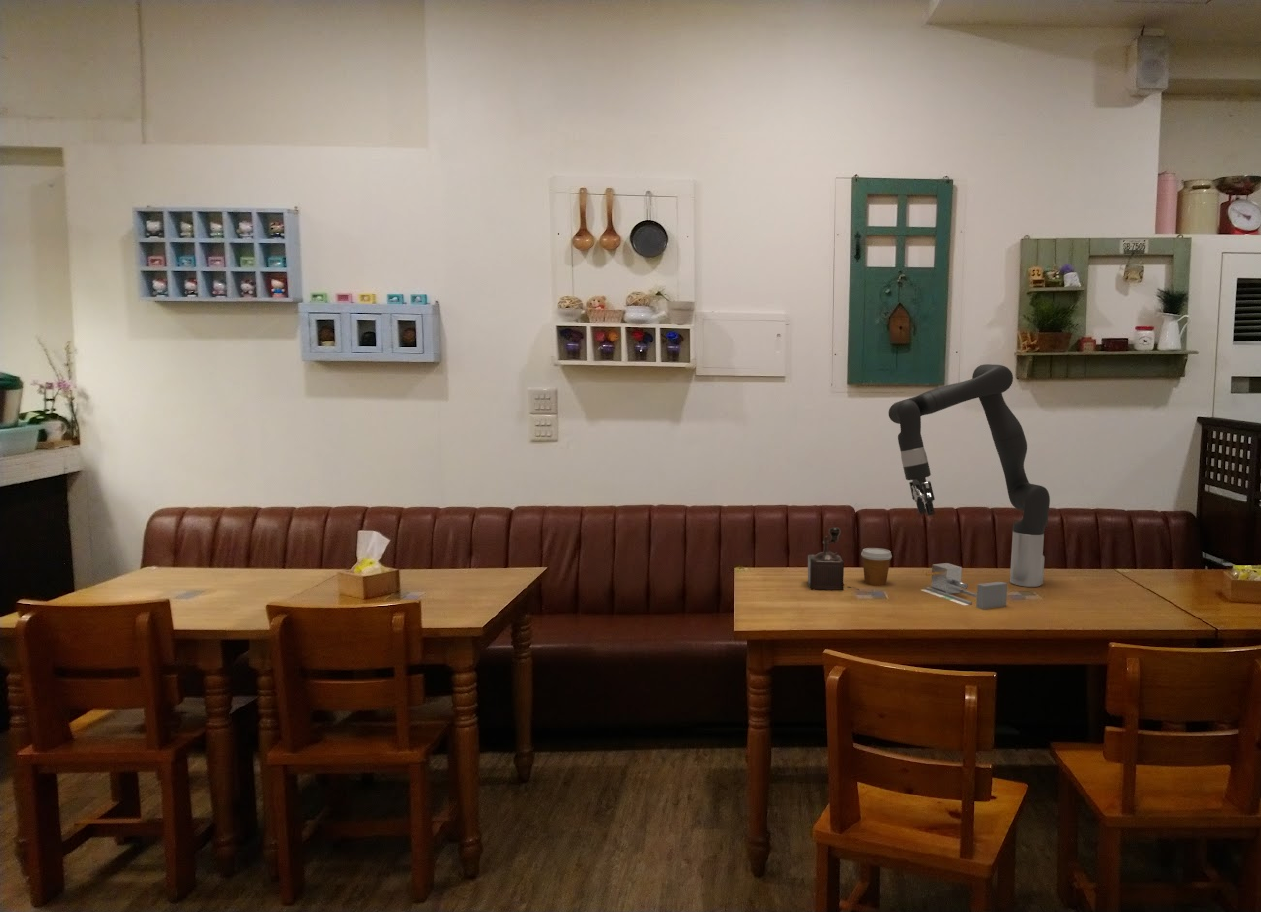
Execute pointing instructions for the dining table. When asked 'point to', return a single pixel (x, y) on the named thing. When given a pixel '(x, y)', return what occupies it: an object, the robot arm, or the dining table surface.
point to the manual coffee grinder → (826, 567)
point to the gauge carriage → (947, 578)
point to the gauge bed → (979, 595)
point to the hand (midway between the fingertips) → (926, 514)
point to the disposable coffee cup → (876, 565)
